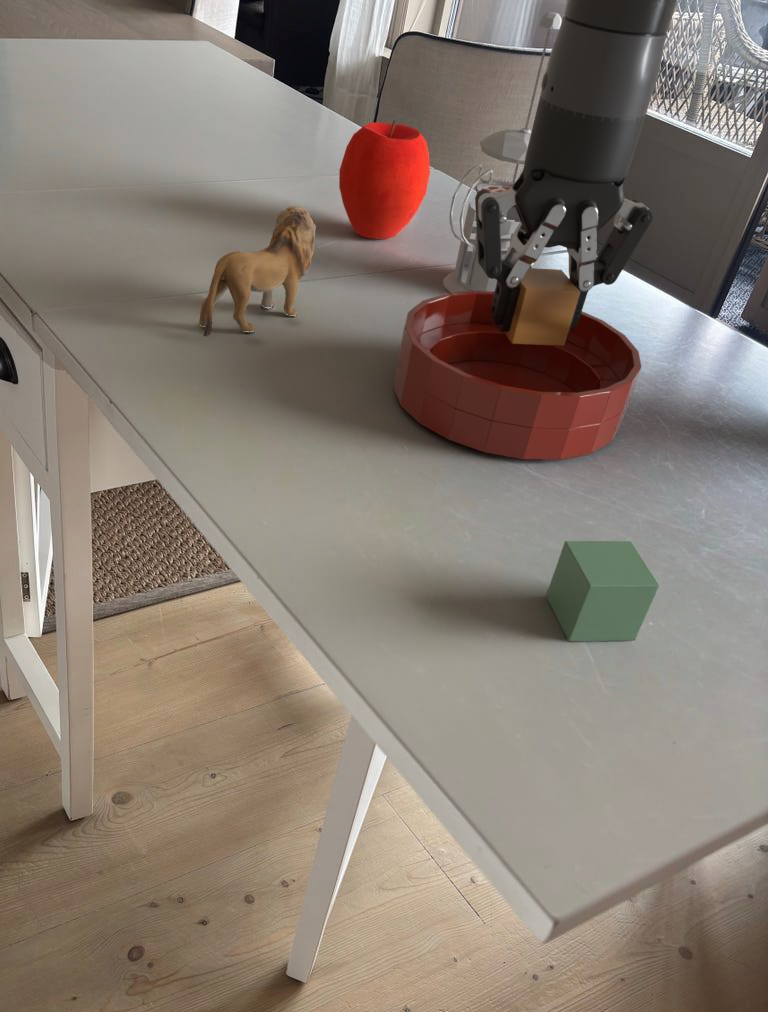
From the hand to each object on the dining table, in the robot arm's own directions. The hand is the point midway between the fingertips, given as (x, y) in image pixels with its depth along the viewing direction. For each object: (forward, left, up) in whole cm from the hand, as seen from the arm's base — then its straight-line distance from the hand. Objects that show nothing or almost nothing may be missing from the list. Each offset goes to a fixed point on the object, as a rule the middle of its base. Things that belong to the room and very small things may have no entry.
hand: (531, 328), depth 80 cm
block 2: (+4, +29, -7) cm, 30 cm away
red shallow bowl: (+1, +1, -7) cm, 7 cm away
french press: (-4, -24, -7) cm, 25 cm away
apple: (+5, -38, -7) cm, 39 cm away
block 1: (0, 0, 0) cm, 0 cm away
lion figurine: (+21, -15, -7) cm, 27 cm away
